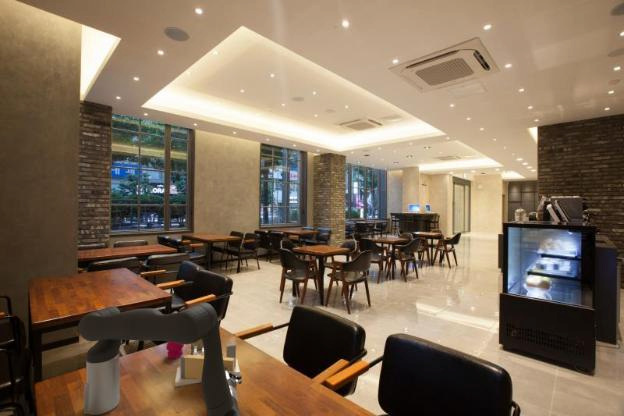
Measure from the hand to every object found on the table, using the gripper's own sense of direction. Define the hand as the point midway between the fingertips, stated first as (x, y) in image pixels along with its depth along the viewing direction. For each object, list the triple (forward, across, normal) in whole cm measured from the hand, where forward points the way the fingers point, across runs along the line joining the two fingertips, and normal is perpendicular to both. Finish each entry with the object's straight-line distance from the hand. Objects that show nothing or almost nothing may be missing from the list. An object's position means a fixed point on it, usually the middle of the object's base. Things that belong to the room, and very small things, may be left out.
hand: (222, 369), depth 114 cm
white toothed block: (+14, +6, +6) cm, 16 cm away
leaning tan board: (+5, +6, +5) cm, 9 cm away
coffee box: (+26, +7, +7) cm, 28 cm away
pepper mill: (+31, +19, +7) cm, 37 cm away
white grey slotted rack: (+11, +5, +7) cm, 14 cm away
